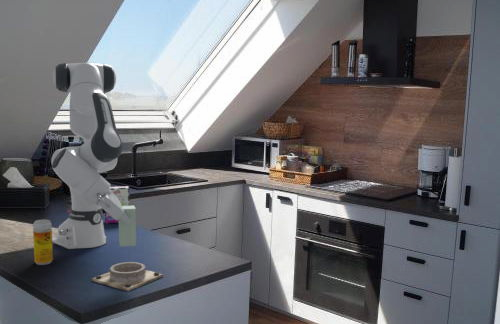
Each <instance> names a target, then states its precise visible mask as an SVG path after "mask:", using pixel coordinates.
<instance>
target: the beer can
mask: <svg viewBox="0 0 500 324" xmlns="http://www.w3.org/2000/svg"><path fill="white" fill-rule="evenodd" d="M32 228H33V229H32V234H33V256H34V263H35V264H36V265H38V266H45V265H49V264H51V263H52V261H53V260H54V256H53V254H54V253H53V242H52V238H53V229H52V222H51V220H50V219H45V218H44V219H36V220H35V221H33V224H32Z"/></svg>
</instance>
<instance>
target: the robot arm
mask: <svg viewBox="0 0 500 324" xmlns="http://www.w3.org/2000/svg"><path fill="white" fill-rule="evenodd" d="M52 80H53V84H54V85H55V88H56V90H58V91H59V92H62V93H69V94H70V96H69V129H70V131H71V132H72V133H73V135H75V136H77V137H79V138H81V139H82V140H83V143H82V144H81V145H79V146H78V145H77V146H67V147H62V148H60V149H59V148H58V149H56V150H55V151H54V152H53V154H52V156H51V160H50V161H51V168H52V170H53V171H54V172H55V174H56V175H57V177H59V179H61V181H63V182H64V183H65V184H66V185H67V186H68V188H69V192H70V197H71V198H70V199H71V209H68V210H67V209H66V210H67V214H69V216H68V218H67V219H66V220H65V221H64V222H62V223H61V224H59V226H58V228H57V234H56V235H57V236H54V237H52V244H56V245H58V246H61V247H63V248H65V249H67V250H75V249H90V248H91V249H92V248H97V247H101V246H102V245H105V244H106V243H107V235H105V226H104V220H103V219H102V217H103V210H104V212H105V211H106V212H107V213H108V214H109V215H110V216H111V217H112V218H113V219H115V220H118V219H119V218H120V219H121V220H123V221H125V222H126V223H127V224H130V223H131V222H132V220H131V218H129V217H128V216H127V215H126V214H125V213H124V210H123V208H122V205H121V203H120V200H119V199H118V198H117V197H116V195H115V194H114V193H113V192H112V191H111V190H110V189H109V188H110V187H112V185H111V183H110V182H109V181H107V179H105V178H104V177H103V175H101V174H100V173H106V172H108V171H112V170H114V169H115V167H116V166H117V163H118V158H119V157H120V156H121V155H122V152H123V143H122V139H121V137H120V135H119V133H118V130H117V126H116V121H115V116H114V113H113V108H112V105H111V102H110V99H109V97H108V96H107V94H108V93H110V92H111V91H113V90H114V88H115V85H116V82H117V75H116V72H115V69H114V67H113V66H112V65H109V64H105V63H102V64H101V63H95V62H94V63H93V62H73V63H71V62H70V63H68V62H64V63H62V62H61V63H58V64H57V65H56V66H55V69H54V70H53V73H52Z"/></svg>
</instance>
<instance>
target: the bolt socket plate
mask: <svg viewBox="0 0 500 324" xmlns="http://www.w3.org/2000/svg"><path fill="white" fill-rule="evenodd" d="M146 267H147V266H146V265H145V264H144V263H141V262H137V261H136V262H135V261H131V262H130V261H127V262H119V263H116V264H113V265H112V266H111V267H110V268H109V271H108V272H106V273H103V274H101V275H96V276H95V277H92V278H91V282H95V283H98V284H102V285H104V286H109V287H112V288H115V289H119V290H121V291H122V290H123V291H126V292H130V291H132V290H135V289H136V288H140V287H142V286H144V285H147V284H149V283H151V282H154V281H156V280H158V278H159V279H161V278H163V277H164V274H163V273H160V272H157V271H151V270H147V269H146Z"/></svg>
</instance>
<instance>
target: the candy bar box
mask: <svg viewBox="0 0 500 324" xmlns="http://www.w3.org/2000/svg"><path fill="white" fill-rule="evenodd" d="M129 187H130V186H129V185H127V186H126V185H125V186H123V185H121V186H110V188H109V189H110V190H111V191H112V192H113V193H114V194H115V195H116V197H117V198H118V199H119V200H120V203H121V205H122V206H130V188H129ZM104 223H105V224H119V219H118V220H115V219H113V218H112V217H111V216H110V215H109V214H108V213H107V212H106V211H105V210H104Z"/></svg>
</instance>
